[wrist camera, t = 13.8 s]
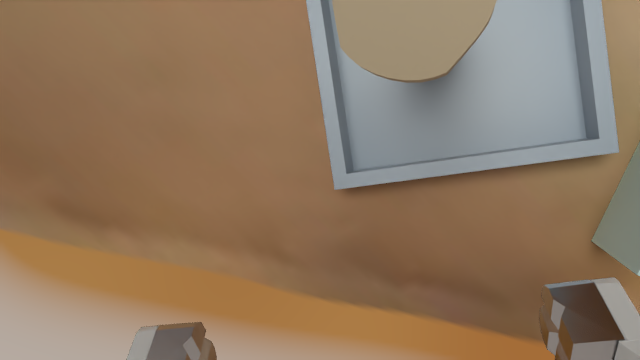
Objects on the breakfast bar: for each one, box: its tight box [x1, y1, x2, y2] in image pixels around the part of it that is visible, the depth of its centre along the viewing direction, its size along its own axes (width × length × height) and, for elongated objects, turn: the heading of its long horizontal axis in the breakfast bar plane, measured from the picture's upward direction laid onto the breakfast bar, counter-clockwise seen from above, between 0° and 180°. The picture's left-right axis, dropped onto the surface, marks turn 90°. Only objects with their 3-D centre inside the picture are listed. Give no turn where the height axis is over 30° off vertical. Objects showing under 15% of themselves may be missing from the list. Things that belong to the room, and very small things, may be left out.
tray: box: [306, 0, 619, 190], centre depth 28 cm, size 15×13×3 cm
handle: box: [332, 0, 497, 83], centre depth 22 cm, size 5×6×15 cm
